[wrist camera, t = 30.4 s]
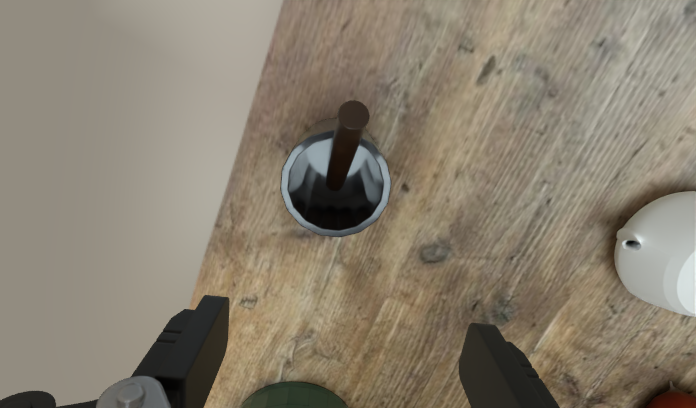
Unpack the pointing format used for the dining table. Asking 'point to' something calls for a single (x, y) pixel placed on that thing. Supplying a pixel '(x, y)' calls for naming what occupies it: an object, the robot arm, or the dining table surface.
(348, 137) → the stick
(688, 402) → the fruit
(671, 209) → the teapot
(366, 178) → the crock
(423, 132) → the dining table surface
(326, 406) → the mixing bowl
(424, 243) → the dining table surface
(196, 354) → the robot arm
